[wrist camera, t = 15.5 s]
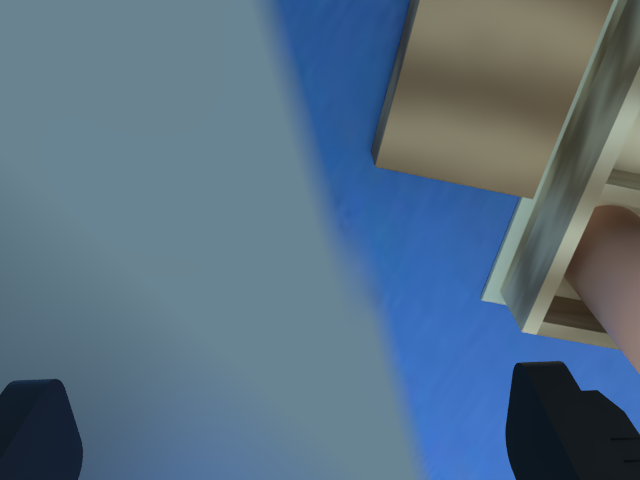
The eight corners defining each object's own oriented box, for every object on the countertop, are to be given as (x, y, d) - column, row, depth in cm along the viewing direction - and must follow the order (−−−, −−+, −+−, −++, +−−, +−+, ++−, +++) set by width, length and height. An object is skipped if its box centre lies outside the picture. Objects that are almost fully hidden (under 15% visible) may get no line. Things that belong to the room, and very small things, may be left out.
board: (424, -53, 32) (434, -54, 29) (592, -12, 33) (617, -9, 30) (371, 151, 37) (375, 167, 34) (517, 182, 38) (533, 199, 35)
